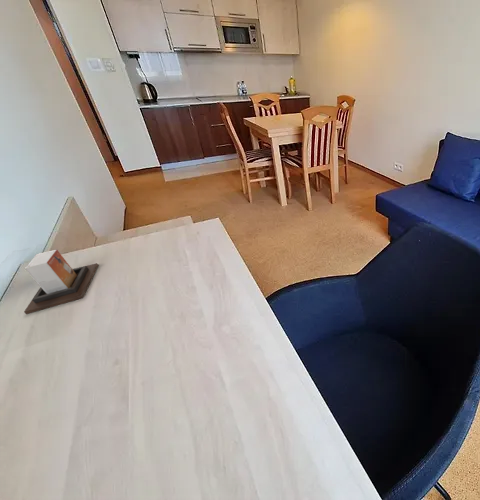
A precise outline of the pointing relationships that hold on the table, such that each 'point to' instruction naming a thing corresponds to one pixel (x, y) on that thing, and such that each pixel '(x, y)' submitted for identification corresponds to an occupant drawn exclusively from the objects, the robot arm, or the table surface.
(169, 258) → the table surface
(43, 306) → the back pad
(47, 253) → the small box
